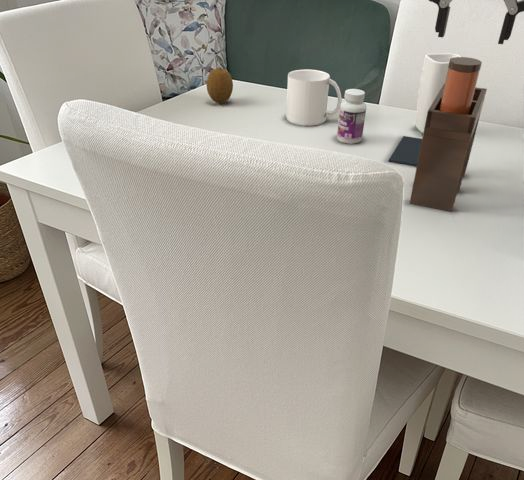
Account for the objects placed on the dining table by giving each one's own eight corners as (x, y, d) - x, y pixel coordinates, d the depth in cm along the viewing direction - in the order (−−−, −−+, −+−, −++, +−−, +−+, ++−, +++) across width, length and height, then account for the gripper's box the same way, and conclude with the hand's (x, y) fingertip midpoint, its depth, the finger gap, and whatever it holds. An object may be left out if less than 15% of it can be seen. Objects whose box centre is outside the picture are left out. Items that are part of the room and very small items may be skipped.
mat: (439, 143, 119) (439, 141, 119) (427, 168, 109) (427, 166, 109) (403, 137, 121) (403, 135, 121) (388, 161, 111) (388, 159, 111)
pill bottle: (331, 139, 120) (335, 91, 114) (347, 133, 123) (352, 85, 117) (351, 146, 117) (357, 97, 111) (367, 140, 120) (373, 91, 114)
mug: (280, 122, 127) (281, 78, 121) (293, 110, 134) (295, 67, 127) (331, 130, 124) (336, 85, 118) (343, 117, 130) (347, 74, 124)
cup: (408, 126, 126) (422, 53, 117) (439, 125, 127) (455, 52, 118) (421, 138, 121) (436, 63, 111) (453, 137, 122) (471, 61, 112)
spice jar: (468, 119, 92) (483, 59, 86) (465, 129, 89) (480, 66, 83) (439, 115, 94) (451, 55, 88) (434, 124, 90) (447, 63, 84)
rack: (464, 175, 107) (486, 88, 97) (451, 211, 96) (475, 117, 86) (426, 169, 109) (444, 83, 99) (409, 203, 98) (427, 110, 88)
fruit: (207, 99, 139) (205, 63, 134) (232, 98, 139) (231, 63, 134) (207, 107, 134) (206, 71, 129) (234, 107, 135) (233, 70, 130)
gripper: (442, -103, 72) (417, 39, 83) (562, -98, 68) (519, 51, 79) (451, -105, 77) (426, 29, 88) (563, -100, 74) (523, 39, 84)
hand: (470, 39), depth 83 cm, fingers open, 8 cm apart
